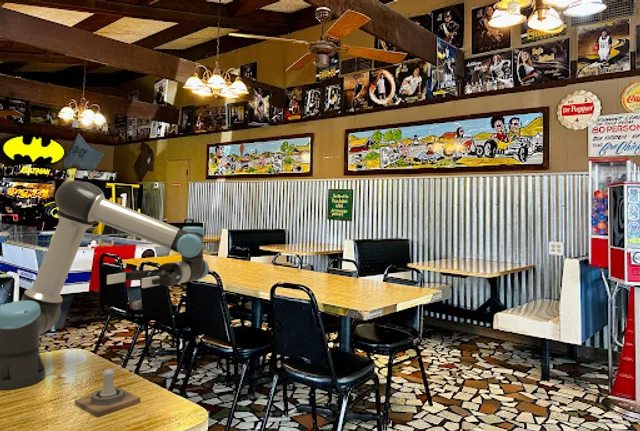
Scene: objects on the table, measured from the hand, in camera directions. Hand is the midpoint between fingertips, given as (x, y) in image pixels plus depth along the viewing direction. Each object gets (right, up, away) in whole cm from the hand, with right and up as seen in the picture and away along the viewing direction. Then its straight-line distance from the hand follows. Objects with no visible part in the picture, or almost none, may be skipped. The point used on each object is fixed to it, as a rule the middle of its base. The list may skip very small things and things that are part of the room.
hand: (124, 281), depth 134 cm
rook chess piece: (0, -31, -10) cm, 33 cm away
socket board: (0, -32, -10) cm, 34 cm away
